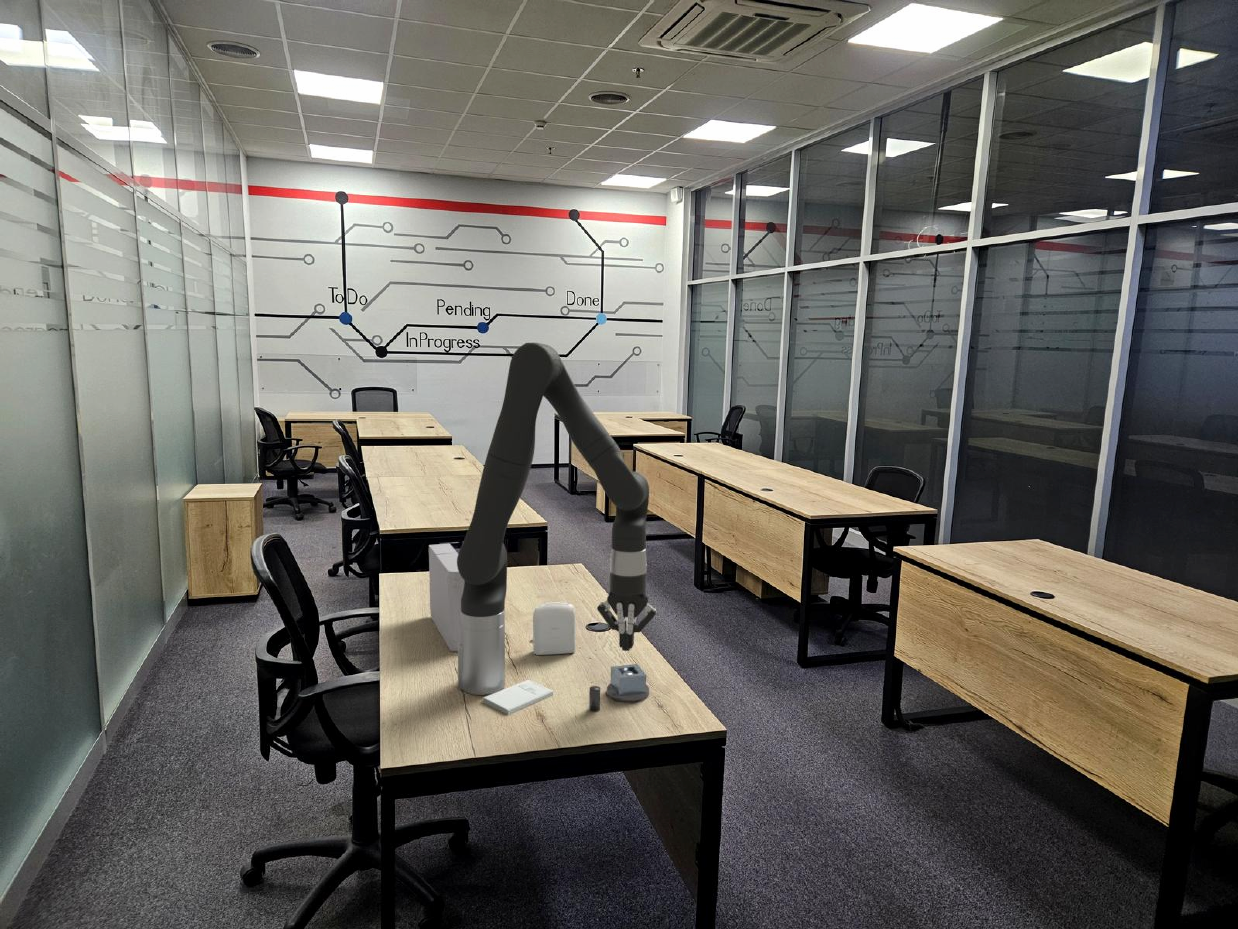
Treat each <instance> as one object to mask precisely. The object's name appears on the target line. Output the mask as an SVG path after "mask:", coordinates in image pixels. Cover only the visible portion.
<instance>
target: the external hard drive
mask: <svg viewBox="0 0 1238 929" xmlns="http://www.w3.org/2000/svg"><path fill="white" fill-rule="evenodd" d="M553 695H554V690H552V689H551V688H548V687H546V686H544V685H541V684H539V683H537V682H535V681H532V679H526V680H524V681H521V682H519V683H516V684H514V685H512V686H511V685H510V686H509V687H506V688H502V689H501V690H500V691H498V692H495V693H491V694H488V695H487V696H484V697H482V703H483V704H486V705H487V706H489V707H491V708H494V709H496V710H498V711H499V712H501V713H504V714H505V715H508V716H509V715H511V714H513V713H516V712H518V711H520V710H522V709H525V708H527V707H529V706H531V705H533V704H536V703H539V702H541V701H543V700H545V699H547V698H549V697H551V696H552V697H553Z"/></svg>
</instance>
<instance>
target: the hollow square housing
mask: <svg viewBox="0 0 1238 929" xmlns="http://www.w3.org/2000/svg"><path fill="white" fill-rule="evenodd" d="M625 671H632V672H633V674H630V675H623V672H625ZM610 683H611V686H612V687H613V689H614V690H615V692H616V693H617V694H618V696H626V695H634V694H642V693H646V685H647V674H646V673H645V672H644V671H643V669H642V667H640V666H639V664H638V663H634V664H633V663H632V664H626V665H624V664H623V665H616V666H615V665H614V666H610Z"/></svg>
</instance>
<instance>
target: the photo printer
mask: <svg viewBox="0 0 1238 929" xmlns="http://www.w3.org/2000/svg"><path fill="white" fill-rule="evenodd" d="M532 642H533V643H532V647H533V651H532V652H533V654H534V655H535V654H536V656H539V655H540V656H543V655H544V656H545V655H547V656H548V655H549V656H550V655H563V654H565V655H566V654H573V653H575V652H576V611H575V607H574V604H570V603H566V602H557V601H556V602H553V601H552V602H547V603H546V602H545V603H541V604H539V605H537V606H535V607H534V610H533V615H532Z"/></svg>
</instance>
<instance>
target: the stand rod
mask: <svg viewBox="0 0 1238 929" xmlns="http://www.w3.org/2000/svg"><path fill="white" fill-rule="evenodd" d="M588 696H589V697H588V698H589V700H588V701H589V702H588V705H589V706H588V707H589V711H590V712H593V713H595V712H599V711H600V710H601V687H600V686H598V685H592V686H590V687H589V695H588Z"/></svg>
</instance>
